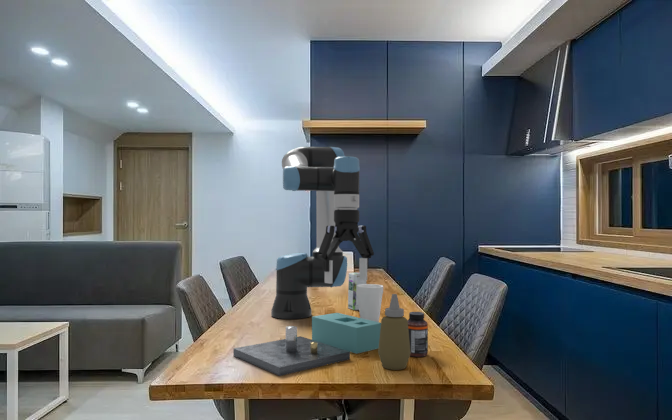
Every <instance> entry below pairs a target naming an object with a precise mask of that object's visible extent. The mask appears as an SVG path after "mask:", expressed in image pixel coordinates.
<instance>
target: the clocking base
mask: <svg viewBox="0 0 672 420" xmlns="http://www.w3.org/2000/svg"><path fill="white" fill-rule="evenodd" d="M232 352H233V354H232V355H233V357H235V358H237V359H239V360H242V361H244V362H246V363H249V364H251V365H252V366H256V367H258V368H260V369H262V370H265V371H267V372H269V373H270V374H271V373H272V374H274V375H276V376H278V377H281V376H286V375H289V374H294V373H299V372H303V371H306V370H310V369H311V370H312V369H315V368H319V367H323V366H327V364H328V365H331V363H332V364H336V363H335V362H337V363H339V362H340V361H341V362H344V361H350V360H351V352H350V351H346V350H343V349H340V348H337V347H334V346H330V345H327V344H324V343H321V342H317V341H314V340H312V338H311V339H310V338H307V337H305V336H302V335H300V336H298V326H295V325H288V326H285V338H284V339H278V340H273V341H267V342H262V343H255V344H250V345H245V346H241V347H234V348H233V351H232ZM341 362H340V363H341Z"/></svg>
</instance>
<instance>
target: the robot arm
mask: <svg viewBox="0 0 672 420" xmlns="http://www.w3.org/2000/svg"><path fill="white" fill-rule="evenodd" d="M281 167H282V188H283V190H285V191H292V192H297V191H299V192H300V191H303V192H305V191H307V192H308V191H309V192H310V191H313V192H315V191H316V192H315V193H316V196H315V197H316V247H315V248H314V249H313V251H312V256H309V255H308V253H307V252H295V253H289V254H288V253H287V254H283V255H279V256H278V258H276V266H275V267H276V268H275V270H276V277H275V278H276V282H275V283H276V284H275V290H276V291H275V298H274V301H273V304H272V308H271V315H270V316H271V317H273V318H276V319H283V320H294V319H295V320H297V319H298V320H299V319H306V318H309V317H312V307H311V304H310V301H309V298H308V288H337V287H341V286H343V285H344V283H345V281H346V277H347V272H348V257H347V256H345V255H344V253H343V252H344V251H343V250H342V249H341V248H340V244H341V243H343V242H348V241H349V242H351V243H352V244H353V246H354V247H355V248H356V250H357V252H358V253H359V255H360V257H359V259H358V261H359V264H358V265H359V266H358V269H359V271H358V273H359V279H360V280H366V281H368V269H369V263H370V262H369V259H372V256H374V255H375V253H374V250H373V247H372V244H371V241H370V238H369V236H368V232H367V226H366V225H359V224H358V223H360V210H359V209H360V171H361V167H360V159H359V158H358V157H356V156H348V155H347V156H346V155H345V152H344V150H343V149H342V148H340V147H335V146H308V145H307V146H298V147H296V148H293V149H290V150H289V151H288V152H286V153H285V154H284V155H283V157H282V159H281Z"/></svg>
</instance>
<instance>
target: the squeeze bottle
mask: <svg viewBox="0 0 672 420" xmlns="http://www.w3.org/2000/svg"><path fill="white" fill-rule="evenodd" d="M384 315H385V316H383V317H382V318H381V321H380V323H381V328H380V338H379V348H378V349H377V353H378V356H379V360H380V362H381V366H382V368H384V369H387V370H393V371H398V370H399V371H400V370H405V369H406V368H407V366H408V363H409V359H410V357H411V356H410V353H411V351H410V341H409V331H408V320H409V319H407V318H406V317H405V316H404V315H405V309H404V308H402V307H400V303H399V298H398V294H397V293H392V294H391V299H390V302H389V306H388V307H386V308H385V309H384Z"/></svg>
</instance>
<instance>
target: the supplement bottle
mask: <svg viewBox="0 0 672 420" xmlns="http://www.w3.org/2000/svg"><path fill="white" fill-rule="evenodd" d="M408 315H409V316H408V319H407V320H408V331H409V341H410V351H411V353H410V357H414V358H424V357H425V356H426V357H427V356H428V354H429V353H428V352H429V335H428V334H429V333H428V332H429V324H428V321H426V320H425V313H424V312H422V311H410V312H409V313H408Z"/></svg>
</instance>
